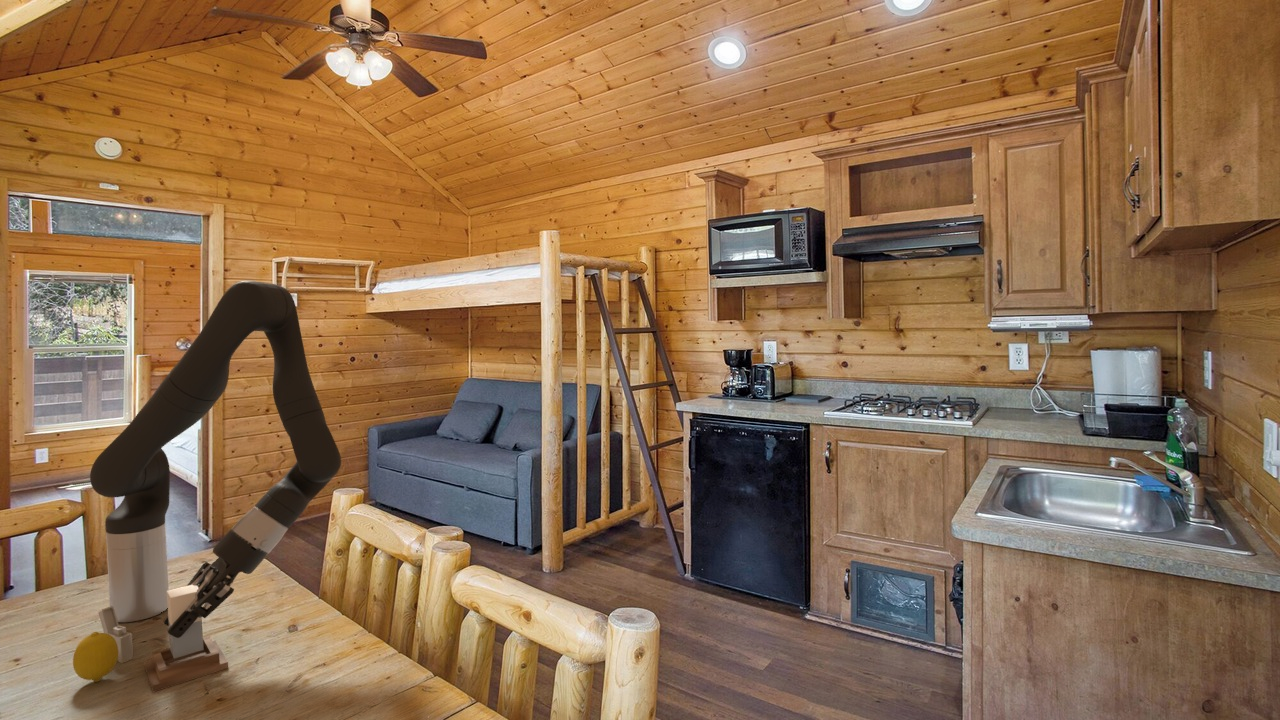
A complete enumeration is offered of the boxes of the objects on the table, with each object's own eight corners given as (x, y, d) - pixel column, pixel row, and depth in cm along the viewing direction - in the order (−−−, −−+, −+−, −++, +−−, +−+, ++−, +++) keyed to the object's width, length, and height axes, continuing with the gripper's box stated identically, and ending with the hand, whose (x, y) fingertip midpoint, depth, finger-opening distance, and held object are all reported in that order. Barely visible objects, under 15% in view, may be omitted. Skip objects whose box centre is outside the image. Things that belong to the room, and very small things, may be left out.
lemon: (93, 692, 99) (90, 642, 99) (65, 688, 100) (62, 639, 100) (128, 673, 105) (126, 625, 104) (101, 670, 106) (98, 622, 105)
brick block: (170, 649, 106) (166, 590, 106) (198, 641, 109) (195, 583, 109) (173, 658, 104) (170, 598, 103) (203, 649, 106) (200, 590, 106)
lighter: (133, 658, 110) (131, 612, 109) (121, 662, 108) (119, 616, 108) (112, 648, 113) (109, 604, 112) (100, 653, 111) (97, 608, 111)
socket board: (144, 667, 107) (143, 652, 107) (215, 646, 114) (215, 632, 113) (152, 691, 99) (152, 676, 99) (228, 667, 106) (227, 653, 106)
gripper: (224, 519, 116) (143, 605, 108) (243, 537, 105) (155, 635, 98) (259, 540, 119) (183, 626, 112) (280, 560, 109) (198, 656, 102)
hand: (170, 629), depth 105 cm, fingers closed on brick block, 4 cm apart
